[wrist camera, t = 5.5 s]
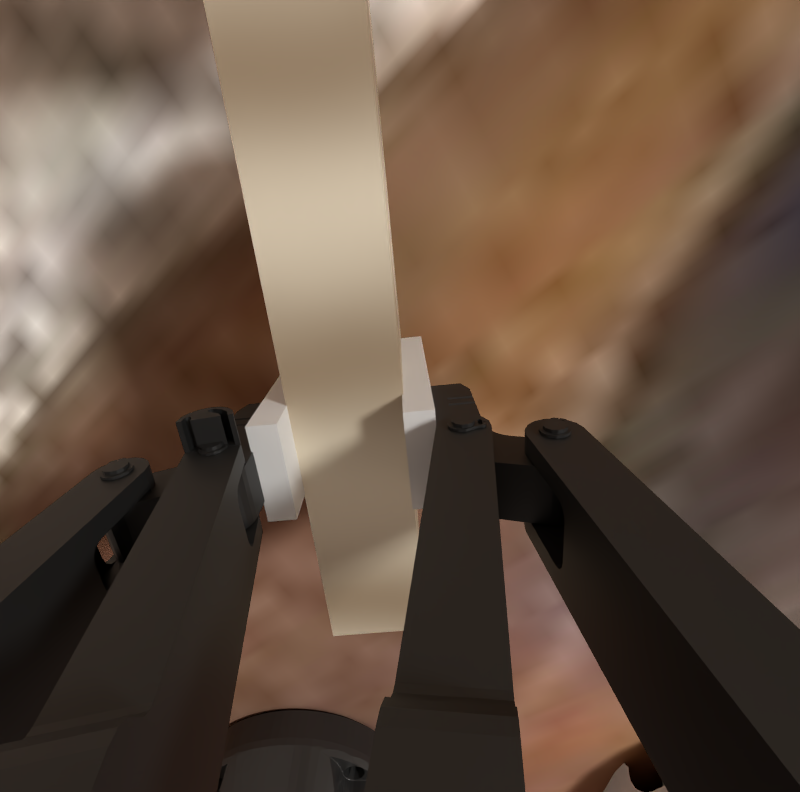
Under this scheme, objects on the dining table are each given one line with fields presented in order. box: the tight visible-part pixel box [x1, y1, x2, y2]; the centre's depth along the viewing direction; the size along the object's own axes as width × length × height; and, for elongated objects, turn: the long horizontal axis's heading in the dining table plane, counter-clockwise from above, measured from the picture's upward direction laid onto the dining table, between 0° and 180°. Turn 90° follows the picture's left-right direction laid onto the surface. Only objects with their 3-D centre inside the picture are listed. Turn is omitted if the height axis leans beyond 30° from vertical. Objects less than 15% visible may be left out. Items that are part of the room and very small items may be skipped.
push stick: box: [203, 0, 419, 636], centre depth 14 cm, size 18×3×6 cm, turn 5°
